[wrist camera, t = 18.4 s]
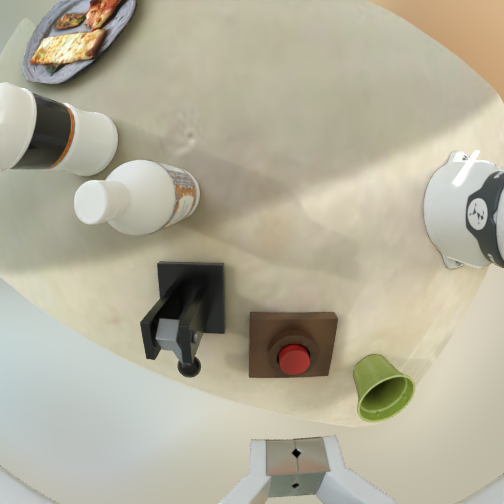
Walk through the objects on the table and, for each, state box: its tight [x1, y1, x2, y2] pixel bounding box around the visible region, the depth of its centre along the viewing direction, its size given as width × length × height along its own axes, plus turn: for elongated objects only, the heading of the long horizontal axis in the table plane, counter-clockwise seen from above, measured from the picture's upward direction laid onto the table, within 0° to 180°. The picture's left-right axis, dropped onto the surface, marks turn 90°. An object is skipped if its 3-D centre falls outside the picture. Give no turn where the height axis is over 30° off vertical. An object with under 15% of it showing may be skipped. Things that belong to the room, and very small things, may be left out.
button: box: [279, 344, 310, 375], centre depth 35 cm, size 4×4×2 cm
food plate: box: [22, 0, 137, 84], centre depth 26 cm, size 25×23×4 cm
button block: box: [249, 312, 338, 378], centre depth 37 cm, size 12×10×4 cm
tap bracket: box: [140, 261, 225, 364], centre depth 31 cm, size 10×9×13 cm
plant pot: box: [353, 354, 415, 422], centre depth 36 cm, size 9×9×9 cm
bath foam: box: [74, 160, 200, 236], centre depth 25 cm, size 7×7×20 cm
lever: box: [155, 319, 201, 377], centre depth 31 cm, size 13×3×3 cm
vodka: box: [0, 83, 118, 176], centre depth 18 cm, size 9×9×30 cm
